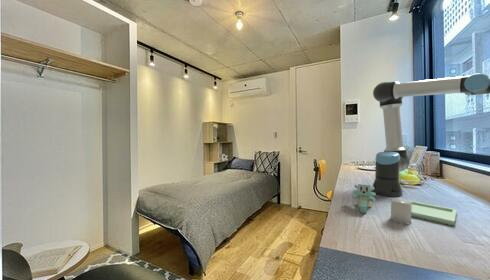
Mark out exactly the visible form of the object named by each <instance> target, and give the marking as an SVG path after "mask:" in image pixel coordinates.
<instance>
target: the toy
mask: <svg viewBox="0 0 490 280" xmlns="http://www.w3.org/2000/svg"><path fill="white" fill-rule="evenodd" d="M353 187H354V188H355V189H354V190H352V193H353V197H352V198H353V199H356V205H357V206H358V207H359V212H360V213H362V214H367V213H368V208H372V207H373V202H375V201H376V196H377V195H376V193H374V192H372V190H373V189H375V188H374V186H371V185H370V184H362V183H361V184H359V183H357V184H356V183H355V184H354V186H353ZM356 189H357V190H356ZM374 196H375V197H374ZM368 200H370V201H368Z"/></svg>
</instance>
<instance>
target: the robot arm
mask: <svg viewBox="0 0 490 280" xmlns="http://www.w3.org/2000/svg"><path fill="white" fill-rule="evenodd" d="M448 94H449V95H450V94H451V95H452V94H464V95H466V96H476V95H485V94H486V95H487V94H490V77H489V75H487V74H484V73H474V74H471V75H465V76H463V75H462V76H455V77H444V78H443V77H442V78H437V79H436V78H433V79H424V80H418V81H417V80H416V81H415V80H414V81H408V82H407V81H406V82H399V81H385V82H380V83H378V84H377V85H376V86H375V87H374V89H373V91H372V95H373V98H374V99H375V100H376V101H378V102H379V107H380V109H382V113H383V114H382V115H383V122H384V123H383V124H384V137H385V146H386V147H385V149H383V151H380V152H377V153H376V155H375V169H374V170H375V172H374V173H375V176H374V177H375V178H374V181H373V183H372V186H374V188H375V189H373V190H371V192H374V193H376V194H377V195H380V196H385V197H394V198H395V197H396V198H397V197H402V196H403V189H402V186H401V185H402V184H401V183H400V173H401V172H403V171H405V170H406V169H407V168H408V167H409V166H410V164H411V159H410V157H409V156H408V153H407V151H408V150H407V148H405V147H404V143H403V141H404V140H403V132H402V130H403V129H402V122H401V121H402V120H401V110H400V107H401V106H402V105H403V98H406V97H407V98H408V97H419V96H420V97H421V96H436V95H448ZM372 186H371V187H372Z"/></svg>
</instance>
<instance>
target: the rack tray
mask: <svg viewBox="0 0 490 280" xmlns="http://www.w3.org/2000/svg"><path fill="white" fill-rule="evenodd" d="M407 200H408V199H407ZM408 201H410V202H412V215H411V216H413V217H412V218H415V217H418V218H417V219H420V218H422V219H421V220H424V219H426V220H425V221H429V220H430V222H433V221H434V223H438V222H439V224H442V223H443V224H444V225H446V224H448V225H447V226H451V225H452V227H456V226H455V225H456V220H457V219H456V218H457V208H451V207H446V206H442V205H436V204H435V205H434V204H430V203H425V202H417V201H413V200H408Z"/></svg>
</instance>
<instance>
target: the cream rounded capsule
mask: <svg viewBox="0 0 490 280" xmlns="http://www.w3.org/2000/svg"><path fill="white" fill-rule="evenodd" d="M410 201H411V200H409V201H408V199H403V198H392V199H390V220H391V219H392V220H393V222H394V221H396V222H395V223H397V222H399V223H398V224H401V223H410V224H412V217H411V215H412V202H410ZM392 220H391V221H392Z"/></svg>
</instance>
